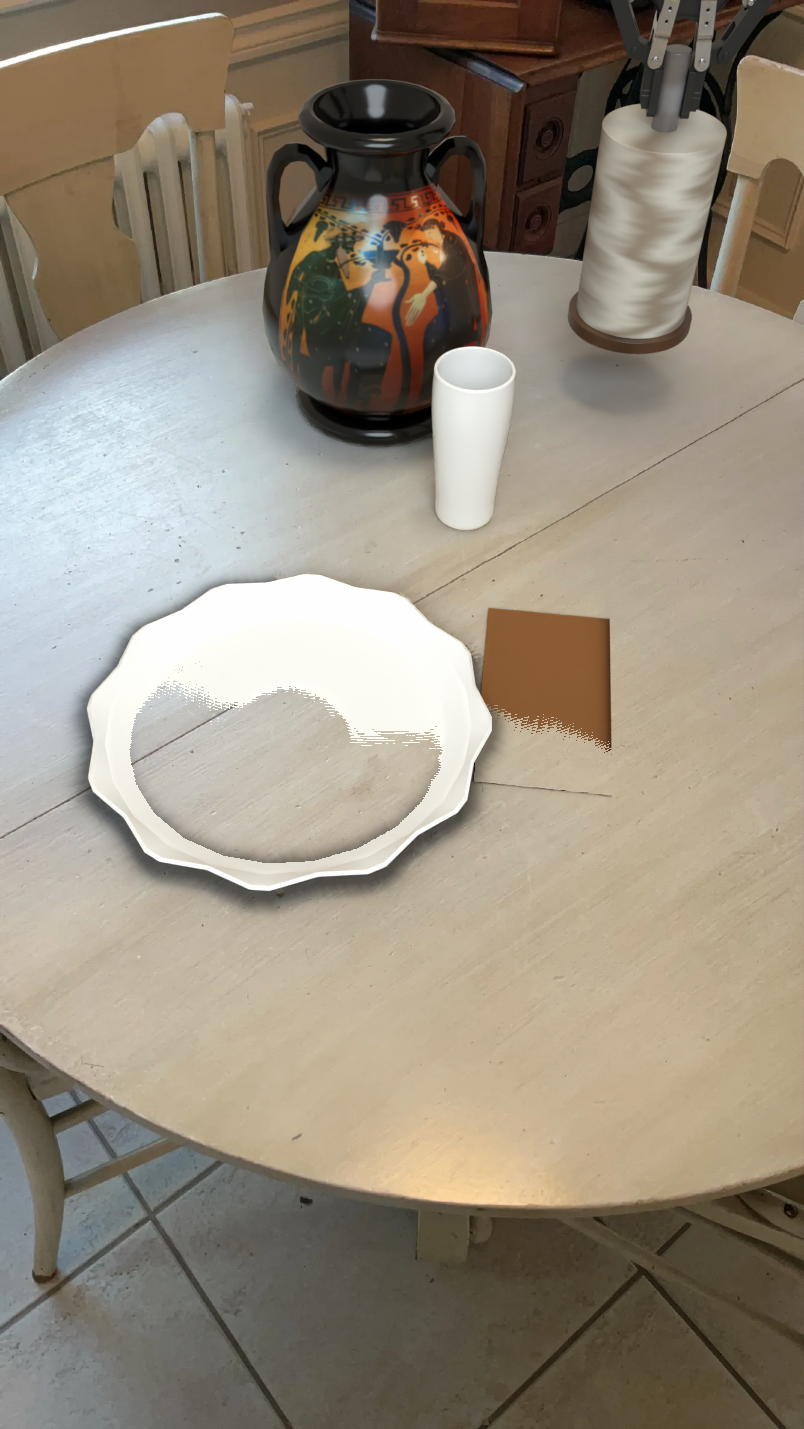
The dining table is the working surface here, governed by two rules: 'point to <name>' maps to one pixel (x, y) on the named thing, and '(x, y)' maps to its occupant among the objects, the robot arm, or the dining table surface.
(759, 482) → the dining table surface
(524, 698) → the cork mat
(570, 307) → the towel holder
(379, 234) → the amphora vase
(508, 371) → the drinking glass
